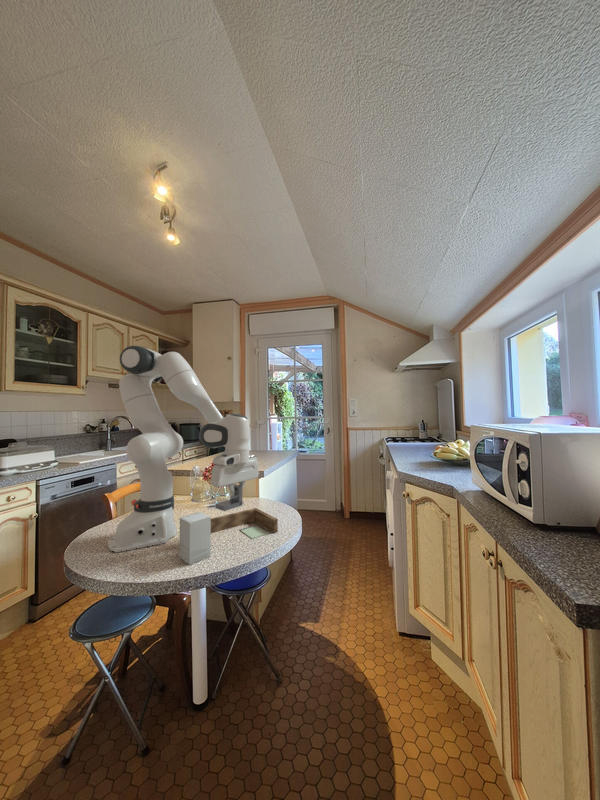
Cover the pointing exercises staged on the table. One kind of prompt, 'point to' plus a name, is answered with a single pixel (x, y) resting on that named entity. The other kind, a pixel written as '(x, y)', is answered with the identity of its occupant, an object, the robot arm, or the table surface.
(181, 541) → the supplement box
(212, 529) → the wooden corner frame
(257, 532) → the mat
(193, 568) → the table surface
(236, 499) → the bracket
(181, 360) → the robot arm
